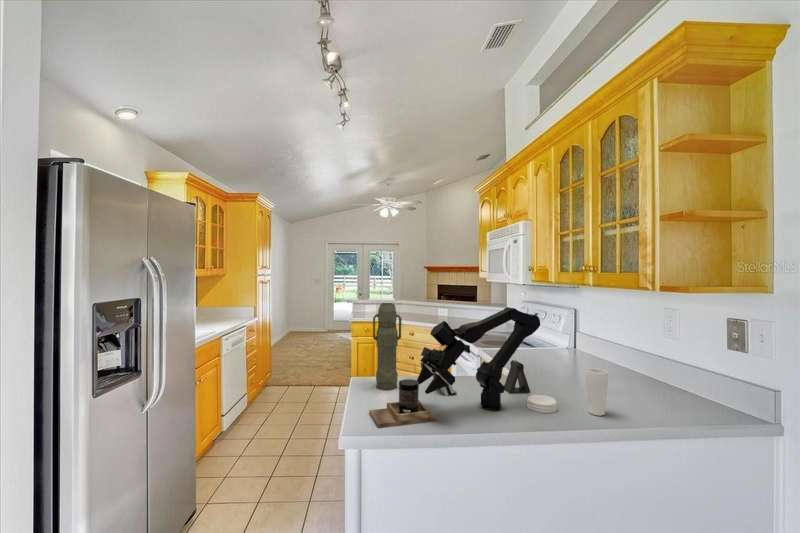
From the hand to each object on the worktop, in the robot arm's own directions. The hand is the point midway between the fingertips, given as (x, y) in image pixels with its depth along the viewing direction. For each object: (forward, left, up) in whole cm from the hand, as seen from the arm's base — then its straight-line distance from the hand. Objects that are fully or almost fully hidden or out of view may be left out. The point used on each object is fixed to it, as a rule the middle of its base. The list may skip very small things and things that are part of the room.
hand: (420, 388), depth 133 cm
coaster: (-38, -23, -9) cm, 46 cm away
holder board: (+5, +4, -9) cm, 11 cm away
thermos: (+23, -23, -9) cm, 34 cm away
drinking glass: (-56, -25, -9) cm, 62 cm away
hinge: (0, -30, -9) cm, 31 cm away
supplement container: (+3, +3, -8) cm, 9 cm away
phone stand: (-28, -39, -9) cm, 49 cm away
